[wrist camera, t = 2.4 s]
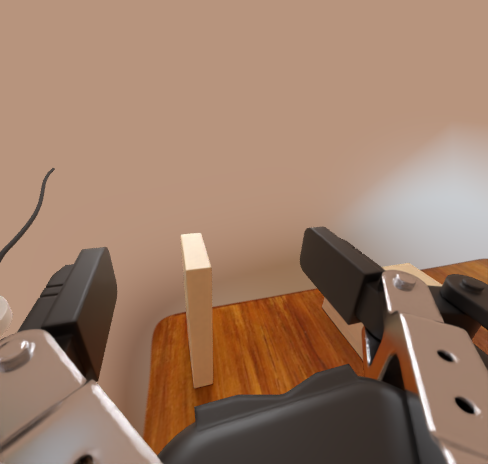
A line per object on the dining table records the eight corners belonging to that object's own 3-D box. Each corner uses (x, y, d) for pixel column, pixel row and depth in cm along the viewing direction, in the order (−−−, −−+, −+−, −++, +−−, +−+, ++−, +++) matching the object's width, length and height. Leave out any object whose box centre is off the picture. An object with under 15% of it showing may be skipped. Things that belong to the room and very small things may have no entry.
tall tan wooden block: (213, 383, 26) (211, 267, 19) (194, 389, 26) (185, 270, 19) (204, 337, 31) (201, 232, 24) (188, 341, 31) (180, 234, 24)
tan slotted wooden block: (365, 364, 29) (381, 328, 26) (321, 307, 37) (330, 275, 34) (458, 338, 33) (479, 304, 30) (400, 291, 41) (413, 261, 38)
